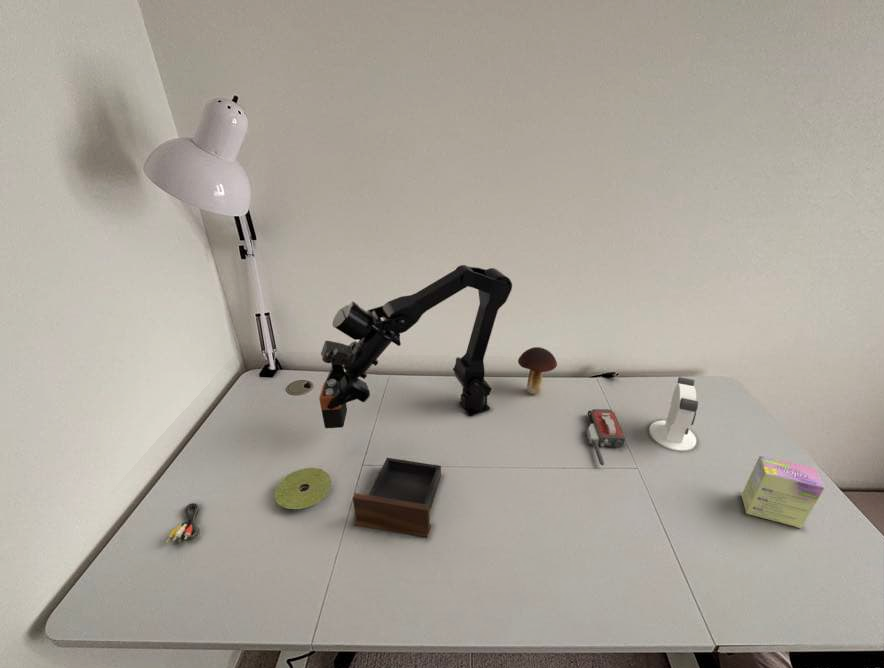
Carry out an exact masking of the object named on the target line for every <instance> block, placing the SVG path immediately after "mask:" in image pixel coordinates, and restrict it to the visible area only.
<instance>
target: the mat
mask: <svg viewBox="0 0 884 668" xmlns="http://www.w3.org/2000/svg"><path fill="white" fill-rule="evenodd" d="M331 486H332V479H331V476H330V474H329V472H327V471H325V470H324V469H321V468H317V467H306V468H300V469H297V470H295V471H292V472H291V473H289V474H287V475H286V476H285V477H284V478H282V479H281V480H280V481H279V483H278V484H277V486H276V487H275V490H274V499H275V501H276V502H277V504H278V505H279V506H281V507H282V508H285V509H288V510H290V509H291V510H301V509H305V508H308V507H309V508H310V507H311V506H313V505H315V504H317V503H318V502H320V501H321V500H323V499H324V498H325V497H326V496H327V494H328V493H329V491H330V490H331Z"/></svg>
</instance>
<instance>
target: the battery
mask: <svg viewBox="0 0 884 668" xmlns="http://www.w3.org/2000/svg"><path fill="white" fill-rule="evenodd" d="M325 381H326V380H325ZM325 381H324V382H323V384H322V387H321V390H320V394H319V398H318V399H319V403H320V410H321V415H322V420H323V426H324V428H325V429H340V428H344V426H345V422H346V418H347V413H348V407H347V403H345V404H342V405H340V406H338V407H335V408H333V409H329V408H327V406H328V404H329V402H330V401H331V399H332V398H333V396H334V395H335V393H336V392H337V390H338V383H337V381H336V380H335V379H330V380H328V381H326V382H325ZM339 382H341V381H339Z"/></svg>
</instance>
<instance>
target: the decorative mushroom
mask: <svg viewBox="0 0 884 668" xmlns="http://www.w3.org/2000/svg"><path fill="white" fill-rule="evenodd" d="M517 362H518V365H519V366H520V367H521V368H524V369H527V370H529V374H528V377H527V385H526V388H527V391H528V393H529V394H531V395H538V394H541V391H542V389H543V378H544V377H543V373H547V372H550V371H553V370H555V369H556V368H557V367H558V362H557V359H556V357H555V356H554V355H553V353H552V352H551V351H550V350H548V349H546V348H544V347H541V346H540V347H539V346H535V347H531V348H528V349H527V350H525V351H524V352H523V353H521V354H520V356H519V357H518V359H517Z"/></svg>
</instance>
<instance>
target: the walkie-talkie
mask: <svg viewBox="0 0 884 668" xmlns="http://www.w3.org/2000/svg"><path fill="white" fill-rule="evenodd" d="M587 417H588V420H589V427H587V432H586V435H587V439H588V443H589V445H592V446H593V448H594V451H595V453H596V457H597V460H598V463H599V465H601V466H604V465H605V461H604V458H603V456H602V453H601V450H600V447H602V448H604V447H615V448H621V447H624V445H625V441H626V436H625V433H624V431H623V429H622V427H621V425H620V422H619V420H618V417H617V416H616V413H615V411H614V410H612V409H610V408H609V409H608V408H607V409H606V408H593V409H592V410H588V411H587Z"/></svg>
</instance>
